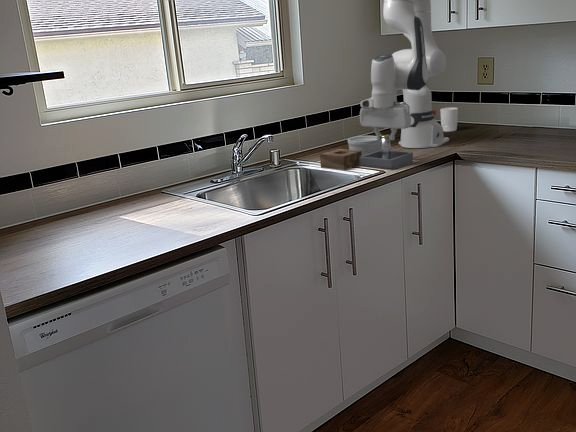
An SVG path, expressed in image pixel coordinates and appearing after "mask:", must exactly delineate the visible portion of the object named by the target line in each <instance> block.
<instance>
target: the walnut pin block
mask: <svg viewBox="0 0 576 432" xmlns="http://www.w3.org/2000/svg"><path fill="white" fill-rule="evenodd" d="M361 156H362V151H357V150H349V149H344V148H337V149H333V150H330V151H326V152H323V153H320V154H319V159H320V160H319V161H320V168H321V169H332V170H338V171H339V170H341V171H345V170H349V169H351V167H352V168H354V166H355V167H358V166H360V161H359V157H361Z"/></svg>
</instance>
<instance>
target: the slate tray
mask: <svg viewBox="0 0 576 432" xmlns="http://www.w3.org/2000/svg"><path fill="white" fill-rule="evenodd" d="M413 153H414V152H411V151H401V150H391V159H382V158H381V149H380V150H379V151H376V152H373V153H370V154H367V155H364V156H361V157H359V161H360V165H359V167H363V168H373V169H382V170H395V169H398V168H400V167H403V166H406V165H408V164H411V163H413V162H414V155H413Z"/></svg>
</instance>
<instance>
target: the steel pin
mask: <svg viewBox="0 0 576 432" xmlns="http://www.w3.org/2000/svg"><path fill="white" fill-rule="evenodd" d="M389 135H390V134H382V135H381V145H380V150H381V158H382V159H391V151H392V149H391V148H392V147H391V140H389Z"/></svg>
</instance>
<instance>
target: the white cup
mask: <svg viewBox="0 0 576 432" xmlns="http://www.w3.org/2000/svg"><path fill="white" fill-rule="evenodd" d="M439 112H440V113H439V115H440V125H441V126H442V127H443V132H445V133H446V132H449V133H450V132H455V131H457V129H458V127H457V126H458V119H459V117H458V115H459V108H458V107H442V108H440V109H439Z"/></svg>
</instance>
